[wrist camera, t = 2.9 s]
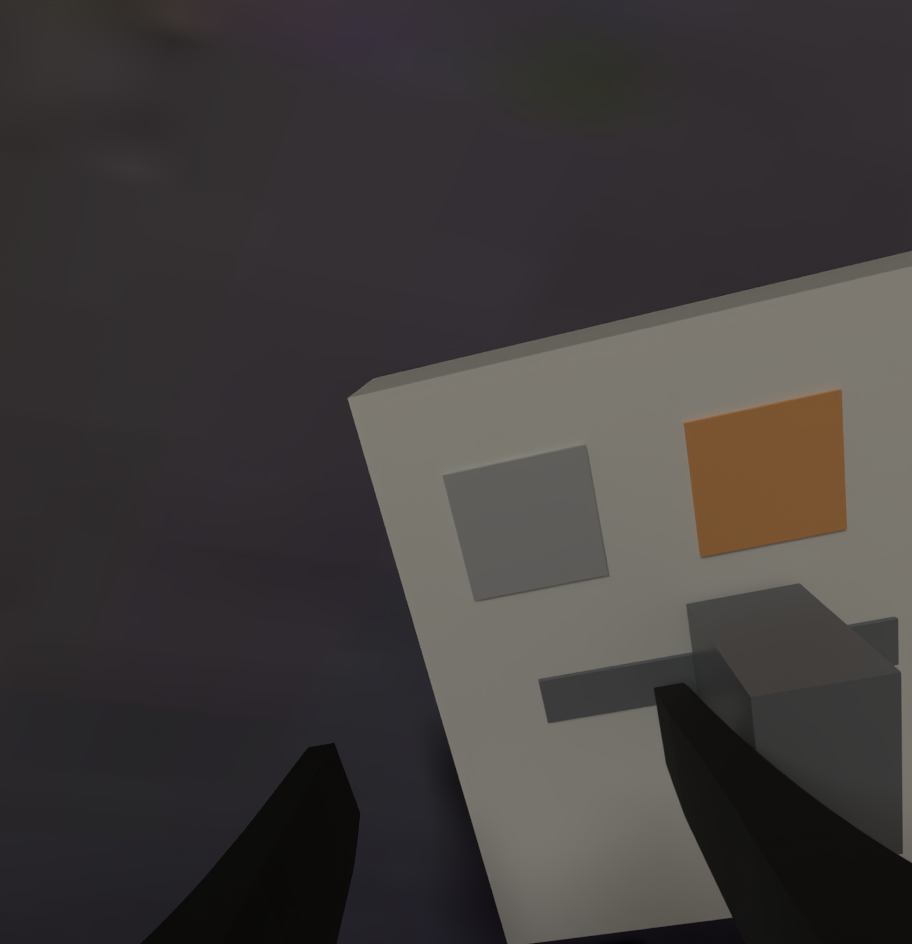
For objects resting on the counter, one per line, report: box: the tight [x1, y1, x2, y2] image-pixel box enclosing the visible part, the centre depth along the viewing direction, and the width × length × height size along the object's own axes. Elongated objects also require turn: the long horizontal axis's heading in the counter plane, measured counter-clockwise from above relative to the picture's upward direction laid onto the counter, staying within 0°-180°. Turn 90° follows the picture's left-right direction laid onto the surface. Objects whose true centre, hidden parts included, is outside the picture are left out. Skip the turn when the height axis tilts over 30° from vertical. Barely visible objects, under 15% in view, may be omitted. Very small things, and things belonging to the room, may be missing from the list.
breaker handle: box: [686, 583, 903, 854], centre depth 11 cm, size 4×2×3 cm, turn 13°
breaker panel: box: [348, 251, 912, 944], centre depth 14 cm, size 16×14×3 cm
